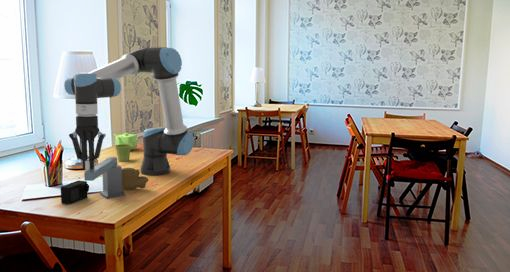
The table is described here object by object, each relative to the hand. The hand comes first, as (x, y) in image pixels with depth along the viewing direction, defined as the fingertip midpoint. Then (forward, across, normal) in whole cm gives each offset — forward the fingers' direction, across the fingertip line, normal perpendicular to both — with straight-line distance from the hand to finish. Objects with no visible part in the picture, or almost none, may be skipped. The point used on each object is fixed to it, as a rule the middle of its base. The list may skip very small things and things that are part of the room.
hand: (88, 177), depth 161 cm
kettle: (+13, -15, +115) cm, 116 cm away
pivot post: (+13, +3, +19) cm, 23 cm away
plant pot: (+13, -9, +85) cm, 86 cm away
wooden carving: (+13, +8, +27) cm, 31 cm away
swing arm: (0, +3, +7) cm, 8 cm away
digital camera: (+13, -9, +11) cm, 19 cm away
